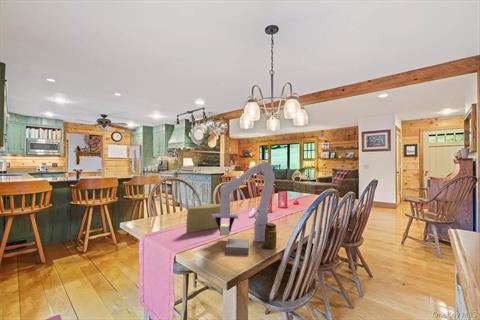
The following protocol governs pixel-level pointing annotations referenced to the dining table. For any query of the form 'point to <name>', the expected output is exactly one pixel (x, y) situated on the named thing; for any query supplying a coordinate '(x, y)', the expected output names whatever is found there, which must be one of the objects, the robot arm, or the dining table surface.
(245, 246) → the base
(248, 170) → the robot arm
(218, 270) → the dining table surface
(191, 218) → the olive rectangular box
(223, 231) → the cube
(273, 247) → the condiment
